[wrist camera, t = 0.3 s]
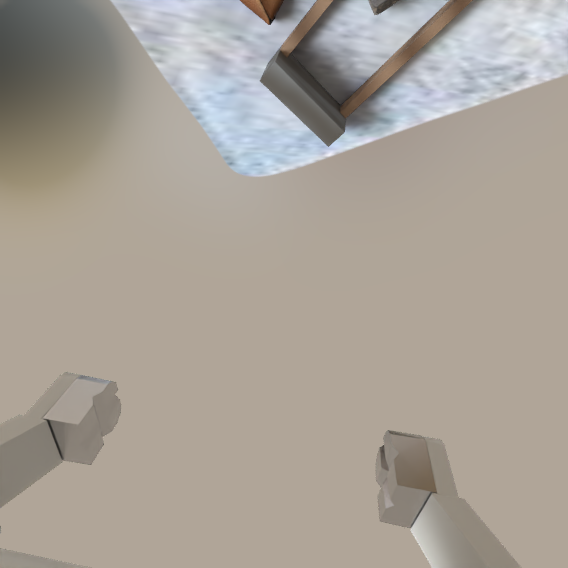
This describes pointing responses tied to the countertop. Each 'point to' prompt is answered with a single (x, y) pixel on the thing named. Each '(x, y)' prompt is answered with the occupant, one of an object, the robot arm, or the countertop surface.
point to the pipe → (381, 5)
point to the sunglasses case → (264, 8)
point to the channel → (313, 97)
